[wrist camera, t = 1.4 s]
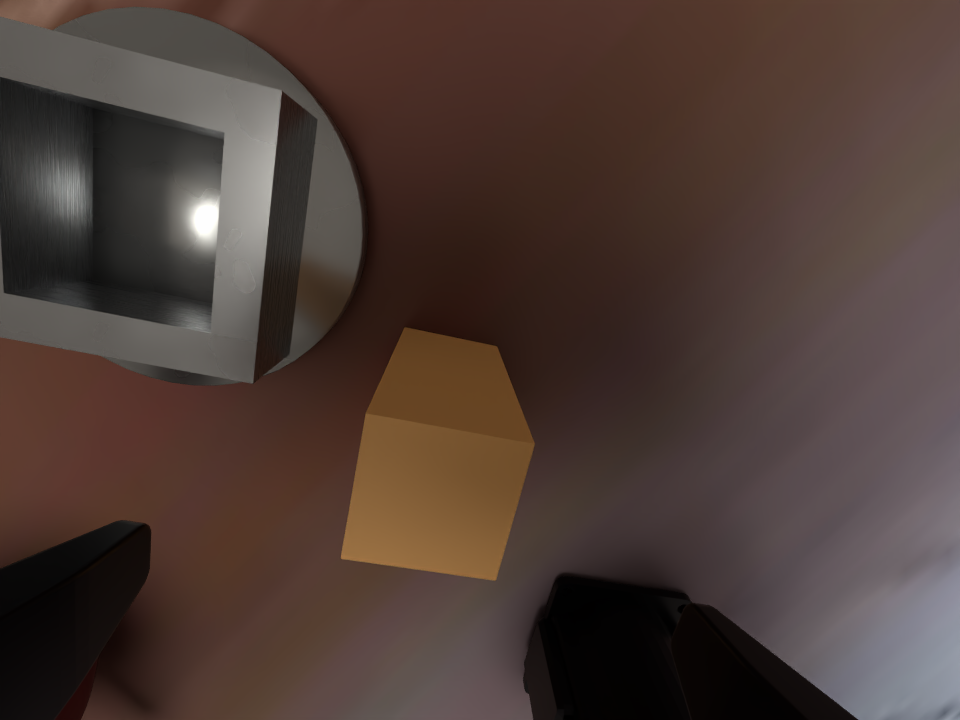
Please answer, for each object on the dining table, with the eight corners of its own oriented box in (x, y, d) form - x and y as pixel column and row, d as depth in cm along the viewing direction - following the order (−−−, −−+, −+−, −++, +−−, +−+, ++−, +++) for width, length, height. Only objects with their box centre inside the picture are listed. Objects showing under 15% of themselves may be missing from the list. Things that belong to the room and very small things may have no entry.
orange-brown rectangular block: (496, 346, 17) (534, 443, 9) (476, 429, 18) (495, 580, 10) (404, 327, 17) (365, 413, 9) (388, 413, 18) (340, 558, 10)
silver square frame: (393, 81, 14) (371, 25, 10) (343, 399, 17) (311, 452, 13) (11, -23, 13) (-185, -134, 9) (26, 341, 16) (-117, 380, 12)
